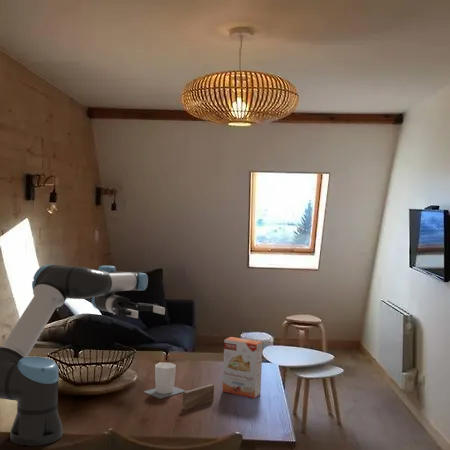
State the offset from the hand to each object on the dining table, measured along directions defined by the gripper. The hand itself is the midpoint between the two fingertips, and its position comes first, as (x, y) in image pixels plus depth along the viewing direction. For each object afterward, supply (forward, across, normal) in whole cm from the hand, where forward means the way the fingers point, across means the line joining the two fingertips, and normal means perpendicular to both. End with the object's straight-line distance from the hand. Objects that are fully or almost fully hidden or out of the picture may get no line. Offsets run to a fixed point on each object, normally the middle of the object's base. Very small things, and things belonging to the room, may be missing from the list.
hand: (151, 312), depth 225 cm
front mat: (+10, 0, -29) cm, 31 cm away
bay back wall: (+28, 0, -29) cm, 41 cm away
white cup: (+10, 0, -29) cm, 30 cm away
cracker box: (+30, -21, -29) cm, 47 cm away
